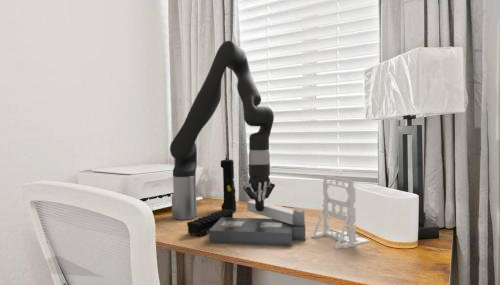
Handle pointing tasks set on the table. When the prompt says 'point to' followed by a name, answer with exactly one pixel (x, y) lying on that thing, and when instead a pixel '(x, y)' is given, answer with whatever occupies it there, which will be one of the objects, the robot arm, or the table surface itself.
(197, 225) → the rail mount
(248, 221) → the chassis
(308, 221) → the table surface
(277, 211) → the bar
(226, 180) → the portable radio
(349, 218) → the film strip holder
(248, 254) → the table surface
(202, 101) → the robot arm
